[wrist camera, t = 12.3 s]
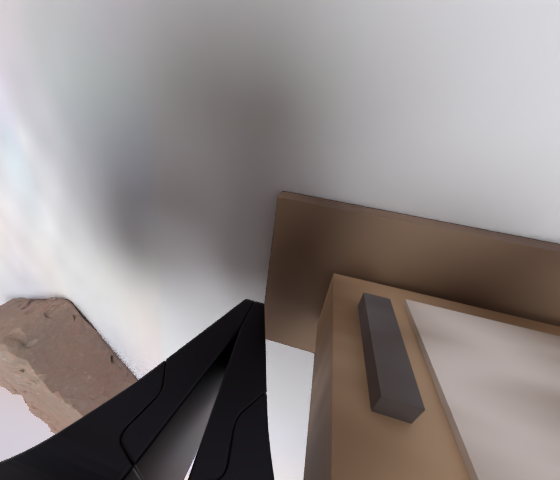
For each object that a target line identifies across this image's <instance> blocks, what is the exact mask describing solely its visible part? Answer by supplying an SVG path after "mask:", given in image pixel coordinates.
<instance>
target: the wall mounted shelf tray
mask: <svg viewBox="0 0 560 480" xmlns="http://www.w3.org/2000/svg"><path fill="white" fill-rule="evenodd" d="M304 480H560V327H559V326H555V325H550V324H546V323H542V322H538V321H533V320H529V319H525V318H521V317H517V316H512V315H508V314H504V313H500V312H496V311H491V310H487V309H483V308H479V307H475V306H470V305H466V304H462V303H458V302H454V301H449V300H445V299H441V298H437V297H432V296H428V295H424V294H420V293H416V292H411V291H407V290H403V289H399V288H395V287H390V286H386V285H382V284H378V283H374V282H369V281H365V280H361V279H357V278H352V277H348V276H344V275H340V274H336V273H333V276H332V280H331V283H330V286H329V289H328V292H327V295H326V299H325V302H324V305H323V308H322V311H321V314H320V318H319V321H318V324H317V334H316V346H315V357H314V368H313V379H312V390H311V401H310V413H309V424H308V435H307V446H306V457H305V468H304Z"/></svg>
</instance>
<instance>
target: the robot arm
mask: <svg viewBox="0 0 560 480" xmlns="http://www.w3.org/2000/svg"><path fill="white" fill-rule="evenodd" d="M266 392H267V387H266V344H265V305H264V303H260V302H257V301H253V300H249V299H245V300H243V301H242V302H241V303H240V304H238V305H237V306H236V307H234V308H233V309H232V310H230V311H229V312H228V313H226V314H225V315H224V316H222V317H221V318H220V319H219V320H217V321H216V322H215V323H213V324H212V325H211V326H209V327H208V328H207V329H205V330H204V331H203V332H201V333H200V334H199V335H198V336H196V337H195V338H194V339H192V340H191V341H190V342H188V343H187V344H186V345H184V346H183V347H182V348H181V349H179V350H178V351H177V352H175V353H174V354H173V355H171V356H170V357H169V358H167V359H166V361H163V362H162V363H161V364H159V365H158V366H157V367H155V368H154V369H153V370H151V371H150V372H149V373H147V374H146V375H145V376H143V377H142V378H140V379H139V380H138V381H136V382H135V383H133V384H132V385H130V386H129V387H127V388H126V389H125V390H123V391H122V392H120V393H119V394H117V395H116V396H114V397H113V398H111V399H109V400H108V401H106V402H105V403H103V404H102V405H100V406H99V407H97V408H95V409H94V410H92V411H91V412H89V413H88V414H86V415H85V416H83V417H81V418H80V419H78V420H77V421H75V422H74V423H72V424H71V425H69V426H68V427H66V428H64V429H63V430H61V431H60V432H58V433H57V434H55V435H53V436H52V437H50V438H49V439H47V440H45V441H43V442H42V443H40V444H38V445H36V446H34V447H32V448H31V449H29V450H26V451H25V452H22V453H20V454H18V455H16V456H14V457H11V458H9V459H6V460H4V461H1V462H0V480H184V478H185V476H186V474H187V472H188V470H189V468H190V466H191V463H192V461H193V459H194V457H195V455H196V453H197V455H196V458H195V461H194V464H193V466H192V469H191V472H190V475H189V478H188V480H274V474H273V467H272V459H271V451H270V442H269V432H268V416H267V394H266ZM197 451H198V452H197Z"/></svg>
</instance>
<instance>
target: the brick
mask: <svg viewBox="0 0 560 480" xmlns="http://www.w3.org/2000/svg"><path fill="white" fill-rule="evenodd" d="M136 381H138V380H137V378H136V377H135V376H134V375H133V373H132V372H131V371H130V370H129V369H128V368H127V367H126V365H125V364H124V363H123V362H122V361H121V360H120V359H119V358H118V356H117V355H116V354H115V353H114V351H113V350H112V349H111V348H110V347H109V346H108V345H107V344H106V342H105V341H104V340H103V339H102V337H101V336H100V334H99V333H98V332H97V331H96V330H95V329H94V328H93V327H92V326H91V325H90V324H89V323H88V322H87V321H86V320H85V319H84V318H83V317H82V316H81V314H80V313H79V312H78V310H77V309H76V308H75V307H74V305H73V304H72V303H71V302H70V301H68V300H66V299H62V298H61V299H57V298H54V297H53V298H50V299H44V300H39V299H37V300H33V299H25V298H18V299H12V300H10V301H8V302H7V303H5V304H3V305H1V306H0V386H1V387H5V388H6V389H8V391H10V392H11V393H12V394H20V395H22V396H23V398H24V400H25V403H27V405H28V407H29V410H30V411H31V412H32V413H33V414H34V415H35V416H36V417H39V418H40V419H42V420H43V421H44V422H45V423H46V424H48V426H49V427H50V429H51V432H53V433H55V434H57V433H58V432H60V431H61V430H63V429H64V428H66V427H68V426H69V425H71V424H72V423H74V422H75V421H77V420H78V419H80V418H81V417H83V416H85V415H86V414H88V413H89V412H91V411H92V410H94V409H95V408H97V407H99V406H100V405H102V404H103V403H105V402H106V401H108V400H109V399H111V398H113V397H114V396H116V395H117V394H119V393H120V392H122V391H123V390H125V389H126V388H127V387H129V386H130V385H132V384H133V383H135V382H136Z"/></svg>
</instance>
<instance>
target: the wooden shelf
mask: <svg viewBox="0 0 560 480" xmlns="http://www.w3.org/2000/svg"><path fill="white" fill-rule="evenodd" d="M333 273H336V274H340V275H344V276H348V277H352V278H357V279H361V280H365V281H369V282H374V283H378V284H382V285H386V286H390V287H395V288H399V289H403V290H407V291H411V292H416V293H420V294H424V295H428V296H432V297H437V298H441V299H445V300H449V301H454V302H458V303H462V304H466V305H470V306H475V307H479V308H483V309H487V310H491V311H496V312H500V313H504V314H508V315H512V316H517V317H521V318H525V319H529V320H533V321H538V322H542V323H546V324H550V325H555V326H559V327H560V244H555V243H550V242H545V241H540V240H534V239H529V238H524V237H519V236H514V235H508V234H503V233H498V232H493V231H488V230H483V229H477V228H472V227H467V226H462V225H457V224H451V223H446V222H441V221H436V220H431V219H425V218H420V217H415V216H410V215H405V214H399V213H394V212H389V211H384V210H379V209H374V208H368V207H363V206H358V205H353V204H348V203H342V202H337V201H332V200H327V199H322V198H316V197H311V196H306V195H301V194H296V193H290V192H285V191H282V192H281V193H280V195H279V196H278V199H277V207H276V215H275V223H274V231H273V239H272V247H271V255H270V263H269V271H268V279H267V287H266V295H265V303H264V305H265V339H268V340H271V341H275V342H278V343H281V344H285V345H288V346H292V347H295V348H299V349H302V350H305V351H309V352H312V353H315V346H316V334H317V324H318V321H319V318H320V314H321V311H322V308H323V305H324V302H325V299H326V295H327V292H328V289H329V286H330V283H331V280H332V276H333Z"/></svg>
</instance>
